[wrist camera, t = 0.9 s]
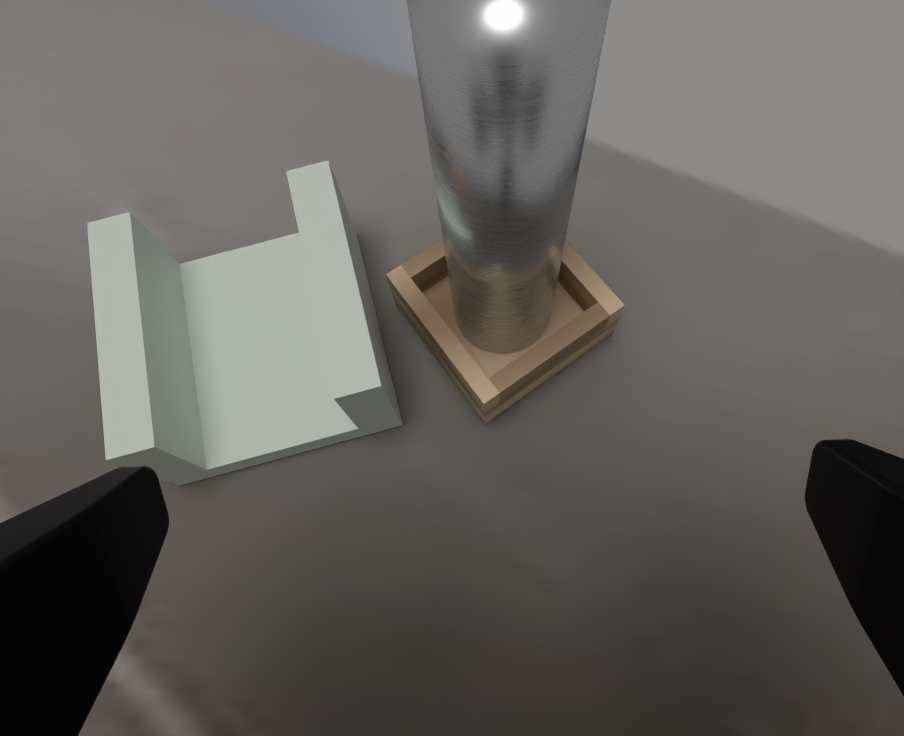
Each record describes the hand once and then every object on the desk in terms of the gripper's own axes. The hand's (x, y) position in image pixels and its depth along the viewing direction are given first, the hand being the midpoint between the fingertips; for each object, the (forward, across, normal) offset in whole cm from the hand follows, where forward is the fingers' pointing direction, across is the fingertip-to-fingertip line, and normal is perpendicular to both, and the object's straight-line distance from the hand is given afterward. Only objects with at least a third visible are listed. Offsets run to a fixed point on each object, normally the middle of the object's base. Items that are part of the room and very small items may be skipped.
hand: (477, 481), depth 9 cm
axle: (+14, -1, +2) cm, 15 cm away
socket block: (+15, -1, +3) cm, 15 cm away
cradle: (+14, +8, +4) cm, 17 cm away
